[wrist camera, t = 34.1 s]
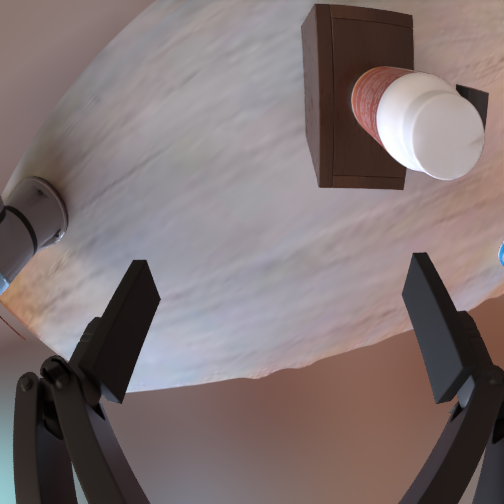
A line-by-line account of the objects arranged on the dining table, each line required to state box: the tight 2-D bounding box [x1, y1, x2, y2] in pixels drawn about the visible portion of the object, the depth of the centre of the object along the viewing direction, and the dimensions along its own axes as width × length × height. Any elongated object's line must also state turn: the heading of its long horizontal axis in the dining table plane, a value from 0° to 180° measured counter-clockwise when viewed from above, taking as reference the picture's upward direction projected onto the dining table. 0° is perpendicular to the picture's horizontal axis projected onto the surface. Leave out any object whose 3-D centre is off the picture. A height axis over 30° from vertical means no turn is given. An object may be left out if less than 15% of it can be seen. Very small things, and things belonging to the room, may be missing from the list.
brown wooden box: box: [301, 4, 489, 190], centre depth 28 cm, size 19×16×16 cm
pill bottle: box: [351, 66, 484, 180], centre depth 17 cm, size 6×6×11 cm
